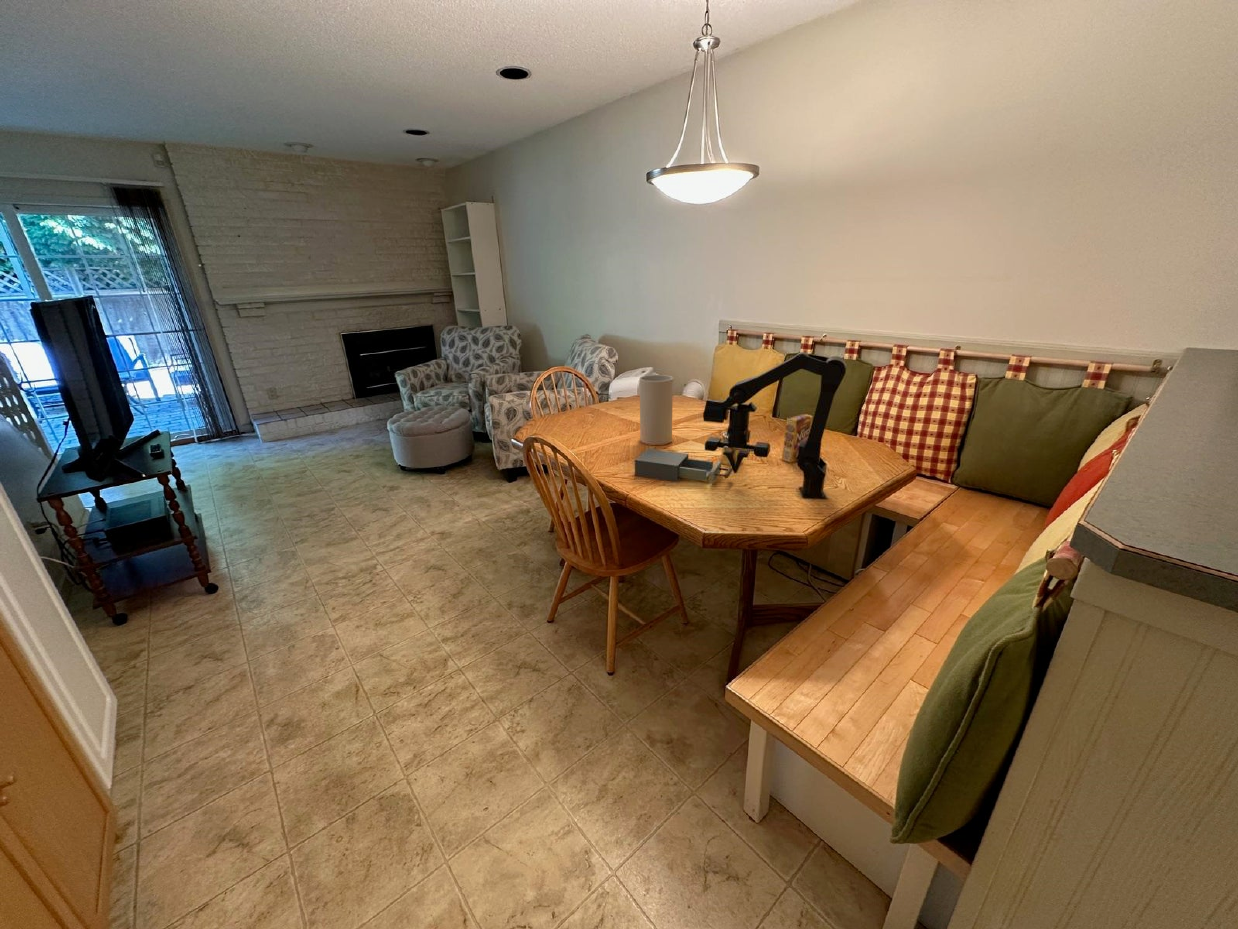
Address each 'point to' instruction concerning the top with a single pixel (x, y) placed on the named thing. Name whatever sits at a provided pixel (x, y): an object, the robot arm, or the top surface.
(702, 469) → the drawer
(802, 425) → the candy box
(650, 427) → the cylinder vase
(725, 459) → the metal can
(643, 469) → the cabinet
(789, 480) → the top surface
